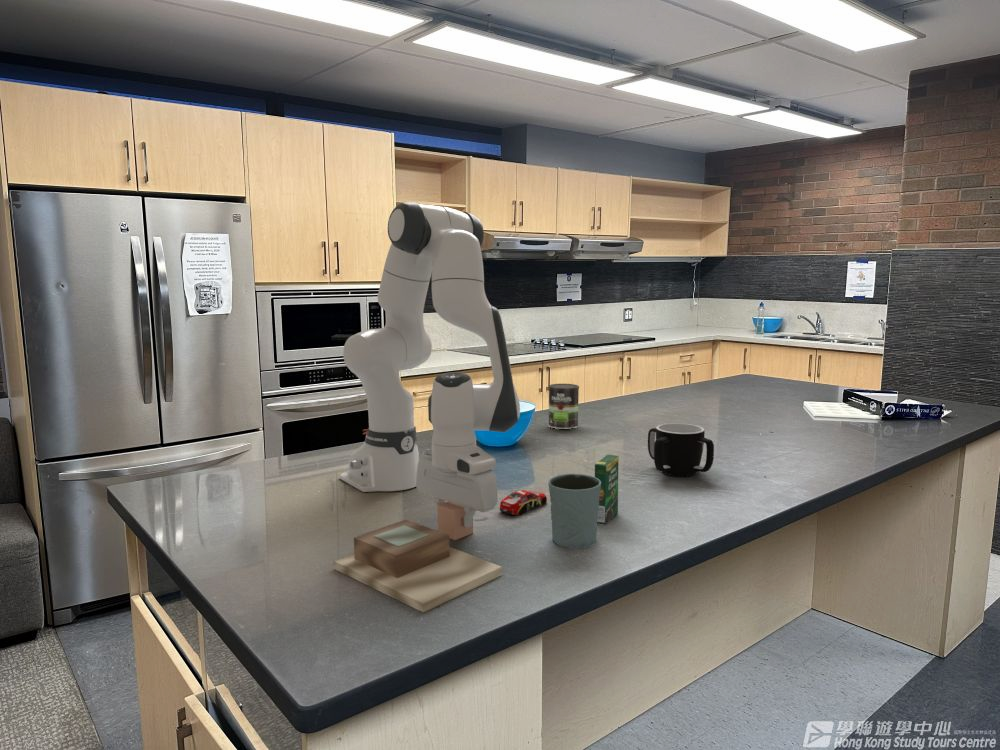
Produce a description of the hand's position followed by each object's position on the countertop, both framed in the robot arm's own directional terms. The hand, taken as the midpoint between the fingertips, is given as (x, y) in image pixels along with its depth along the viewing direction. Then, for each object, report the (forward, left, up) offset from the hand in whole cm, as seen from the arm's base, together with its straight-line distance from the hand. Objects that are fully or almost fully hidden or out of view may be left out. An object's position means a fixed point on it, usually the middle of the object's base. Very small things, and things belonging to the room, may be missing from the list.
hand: (455, 522), depth 138 cm
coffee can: (-43, +92, -3) cm, 102 cm away
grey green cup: (+20, +13, -3) cm, 24 cm away
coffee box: (+18, +27, -3) cm, 33 cm away
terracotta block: (0, 0, -2) cm, 2 cm away
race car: (0, +21, -3) cm, 21 cm away
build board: (+8, -17, -2) cm, 19 cm away
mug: (+13, +68, -3) cm, 69 cm away
